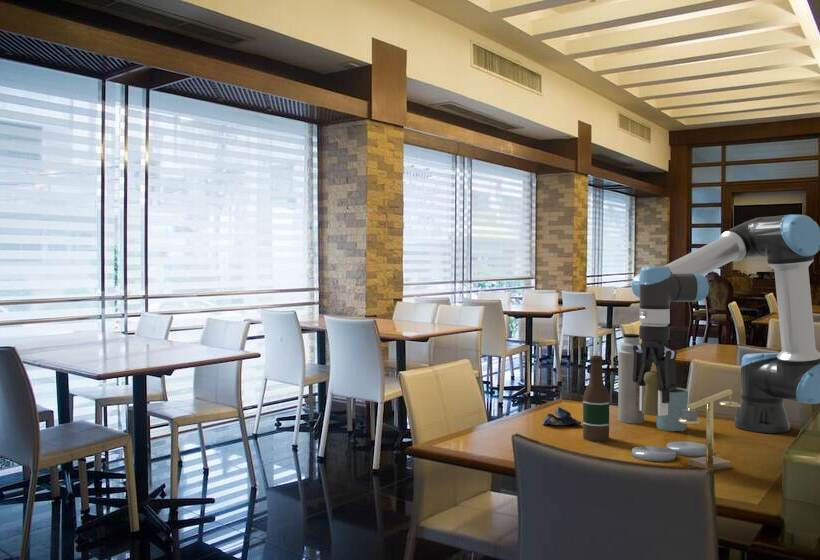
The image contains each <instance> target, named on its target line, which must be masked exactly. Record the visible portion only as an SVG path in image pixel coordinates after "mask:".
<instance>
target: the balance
mask: <svg viewBox="0 0 820 560" xmlns="http://www.w3.org/2000/svg"><path fill="white" fill-rule="evenodd" d="M732 394H733V390H732V389H731V388H730V389H725V390H722V391H720V392H717V393H715V394H712V395H710V396H707V397H705V398H702V399H700V400H696V401H694V402H692V403H689V404H687V409H683V410H682V418H679V422H680V423H683V424H686V425H692V426H693V425H694V426H695V425H696V426H697V425H700V424H701V419H698V410H695V409H697V408H700V407H702V406H705V405H706V430H705V431H706V433H705V435H706V440H705V441H706V442H705V445H706V456H699V457H694V458H689V459H688V465H687V466H690V465H692V466H691V467H693V468H696V467H705V468H711V469H713V471H718V470H726V469H730V468H732V461H730V460H728V459H724V458H722V457H719V456H715V455H714V415H715V414H714V409H715V408H714V404H715V403H714V402H715V401H717V400H721V399H722V398H726V397H729V399H728V400H723V401H719V406H721V407H723V408H724V407H725V408H739V407H741V402H738V401H732Z"/></svg>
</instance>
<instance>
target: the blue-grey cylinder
mask: <svg viewBox="0 0 820 560" xmlns="http://www.w3.org/2000/svg"><path fill="white" fill-rule="evenodd" d="M669 398H670V401H669V403H668V415H664V416H655V420H656V421H655V425H656V429H658V430H660V429H661V430H660V431H664V430H665V432H671V431H681V432H685V431H686V430H687V424H683V423H680V422H679V418H682V410H683V409H688V407H687V405H688V403H689V390H688V389H686V388H682V387H676V389H672V390H670V397H669ZM684 430H685V431H684Z"/></svg>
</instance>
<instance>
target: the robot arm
mask: <svg viewBox="0 0 820 560" xmlns="http://www.w3.org/2000/svg"><path fill="white" fill-rule="evenodd" d="M819 251H820V226H819V224H818V223H817V222H816V221H815V220H813V218H812V217H810V216H808V215H805V214H785V215H784V214H783V215H775V216H761V217H755V218H753V219H749V220H747V221H744V222H742V223H741V224H738V225H736V226H734V227H732V228H730V229H728V230H725V231H724V232H723V233H721V234H720V236H719V237H718V238H717V239H715V240H713V241H710V243H708V244H706V245H704V246H702V247H699V248H697V249H696V250H694V251H692V252H689V253H688V254H686V255H683V256H682V257H679V258H678V259H675V260H673V261H672V262H670V263H667V264H665V265H662V266H655V265H654V266H653V265H652V266H649V265H648V266H647V265H645V266H642V267H641V268H640V272H639V273H638V274H636V275H634V277H633V279H632V280H631V285H630V286H631V290H632V293H633V295H635V296H636V297H637V298H639V323H640V324H641V325H640V326H639V327H638V328H639V331H638V332H639V333H638V335H639V340H641V343H640V344H641V345H637V346H633V352H634V363H633V382H636V383H637V384H638V386H639V397H640V411H642V410H643V402H644V395H645V388H646V383H645V382H644V375H645V373H646V372H650V371H652V367H653V365H654V366H655V369H656V372H657V374H658V379H659V384H660V389H658V416H664V415H668V403H669V401H670V398H669V397H670V390H672V389H676V388H677V369H676V368H677V367H676V358H677V354H678V352H677V350H674V349H673V350H671V348H669V345H668V341H669V340H670V335H671V334H670V333H671V332H670V326H669V324H670V323H671V320H670V319H671V316H670V315H671V313H670V310H671V307H670V306H671V303H673V302H674V303H675V302H676V303H677V302H681V303H684V302H687V303H689V302H690V303H691V302H692V303H695V302H701V301H703V300H704V299H706V298H707V296H708V294H709V291H710V290H709V288H710V283H709V281H708V279H707V277H706V276H705V275H707V274H709V273H711V272H712V271H715V270H717V269H719V268H721V267H723V266H724V265H727V264H729V263H730V262H740V261H742V260H744V259H747V258H753V257H766V258H767V259H766V260H767V261H766V262H767V265H768V266H769V267H771V268H772V269H773V270H774V279H775V291H776V302H777V313H778V322H779V323H778V324H779V333H780V334H779V335H780V342H781V343H780V344H781V351H780V352H761V353H759V352H758V353H755V352H754V353H746V354H744V355H743V356H742V358H741V366H740V383H741V384H740V389H741V390H740V395H741V396H740V403H741V407H737V408H738V409H737V412H736V415H735V417H734V426H735V428H738V429H741V430H745V431H749V432H755V433H765V434H766V433H767V434H780V433H782V434H783V433H787V432H789V431H790V430H791V427H790V420H789V419H788V414H787V412H786V409H785V405H784V399H785V400H791V401H795V402H798V403H801V404H810V405H818V404H820V352H819V351H818V350H817V348H816V347H817V345H816V338H815V326H814V315H813V305H812V294H811V284H810V273H809V272H810V271H809V267H810V265H811V264H812V263H814V258H815V256H814V255H816V254H818V252H819ZM637 376H638V377H637Z"/></svg>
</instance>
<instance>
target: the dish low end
mask: <svg viewBox="0 0 820 560" xmlns="http://www.w3.org/2000/svg"><path fill="white" fill-rule="evenodd" d="M631 456H632V457H634V458H636V459H638V460H641V459H642V461H646V460H648V461H647V462H654V461H656V462H655V463H657V461H660V462H661V463H666V462H665V461H667V462H672V461H671V460H673V461H674V459H675V458H676V459H677V454H676V452H675V451H673V450H671V449H668V448H667V447H663V446H653V445H641V446H640V445H639V446H634V447H632V449H631ZM676 459H675V460H676ZM660 462H659V463H660Z"/></svg>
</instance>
